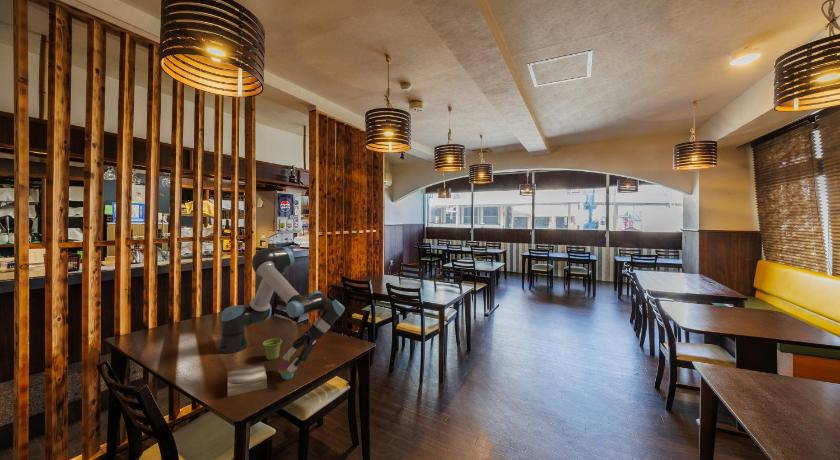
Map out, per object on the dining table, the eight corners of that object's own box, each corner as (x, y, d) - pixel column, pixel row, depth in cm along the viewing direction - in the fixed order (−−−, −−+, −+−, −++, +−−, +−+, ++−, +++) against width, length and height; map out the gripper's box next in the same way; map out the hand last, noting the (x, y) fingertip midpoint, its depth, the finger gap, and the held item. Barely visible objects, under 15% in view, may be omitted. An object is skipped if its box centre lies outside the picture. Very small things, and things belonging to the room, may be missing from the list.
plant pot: (263, 362, 165) (262, 346, 164) (262, 355, 173) (262, 340, 173) (282, 359, 169) (282, 343, 169) (281, 352, 177) (281, 337, 177)
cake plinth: (227, 380, 146) (227, 370, 146) (263, 373, 154) (263, 363, 154) (227, 396, 134) (227, 385, 133) (266, 387, 141) (266, 376, 141)
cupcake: (281, 372, 155) (281, 348, 154) (299, 372, 156) (299, 348, 155) (275, 381, 146) (275, 356, 146) (294, 381, 147) (294, 356, 146)
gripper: (331, 341, 148) (297, 380, 141) (318, 325, 169) (288, 358, 162) (319, 332, 145) (284, 372, 138) (308, 316, 166) (277, 350, 159)
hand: (286, 365), depth 150 cm, fingers open, 13 cm apart
